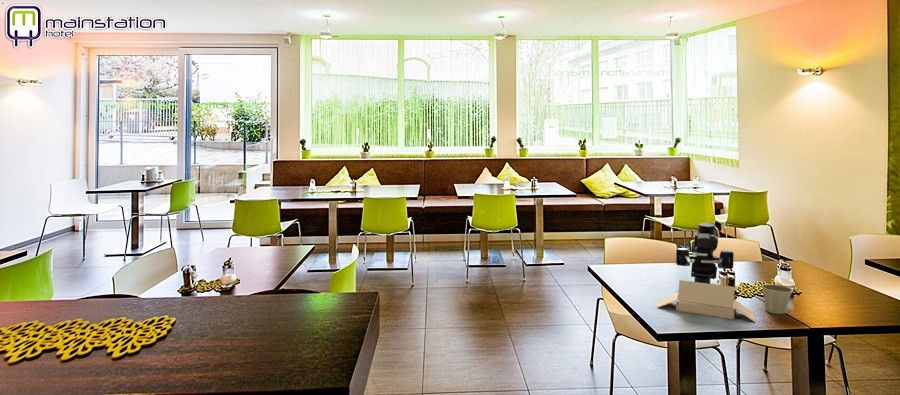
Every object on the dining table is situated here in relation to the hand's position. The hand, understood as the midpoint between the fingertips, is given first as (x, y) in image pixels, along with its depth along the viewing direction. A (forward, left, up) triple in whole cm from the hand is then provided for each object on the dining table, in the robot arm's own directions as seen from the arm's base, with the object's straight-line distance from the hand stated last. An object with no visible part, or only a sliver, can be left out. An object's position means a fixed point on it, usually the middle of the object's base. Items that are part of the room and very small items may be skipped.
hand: (703, 265), depth 184 cm
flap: (+7, +1, -12) cm, 14 cm away
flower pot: (-11, +23, -16) cm, 31 cm away
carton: (-2, +1, -16) cm, 16 cm away
